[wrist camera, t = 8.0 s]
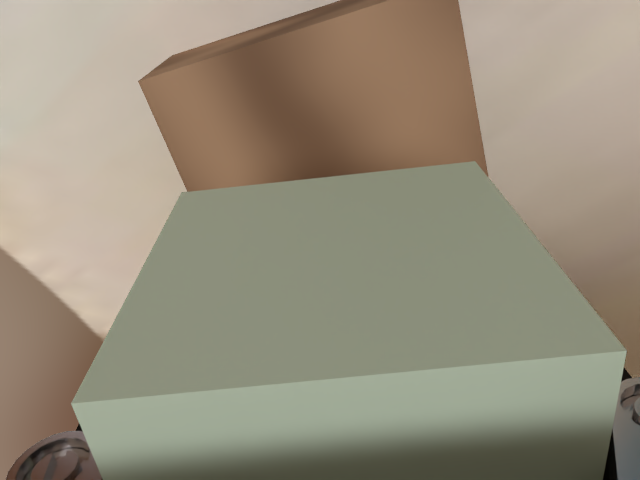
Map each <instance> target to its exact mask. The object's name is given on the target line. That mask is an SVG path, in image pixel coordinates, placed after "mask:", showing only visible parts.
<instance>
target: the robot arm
mask: <svg viewBox="0 0 640 480" xmlns="http://www.w3.org/2000/svg"><path fill="white" fill-rule="evenodd" d="M6 480H103V479H102V477H101V474H100V472H99V469H98V467H97V465H96V462H95V460H94V457H93V455H92V453H91V450H90V448H89V445H88V443H87V441H86V438H85V436H84V433H83V431H82V429H81V426H80V424H79V425H78V427H77V429H76V431H66V432H62V433H58V434H54V435H52V436H50V437H48V438H45V439H43V440H41V441H39V442H38V443H36V444H35V445H33V446H32V447H30V448H29V449H27V450H26V451H25V452H24V453H23V454H22V455H21V456H20V457H19V458H18V459H17V460H16V461H15V463H14V464H13V465H12V467H11V468H10V470H9V471H8V474H7V477H6ZM603 480H640V377H636V378H632V377H631V376H630V375H629V373H628V372H627V371H626V369H625V368H624V369H623V374H622V380H621V385H620V390H619V396H618V401H617V406H616V412H615V417H614V422H613V428H612V433H611V438H610V444H609V449H608V454H607V460H606V465H605V470H604V476H603Z"/></svg>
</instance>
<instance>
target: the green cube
mask: <svg viewBox="0 0 640 480" xmlns="http://www.w3.org/2000/svg"><path fill="white" fill-rule="evenodd" d="M626 353H627V350H626V349H625V348H624V346H623V345H622V344H621V343H620V341H619V340H618V339H617V338H616V336H615V335H614V334H613V333H612V331H611V330H610V329H609V328H608V326H607V325H606V324H605V323H604V321H603V320H602V319H601V318H600V316H599V315H598V314H597V313H596V311H595V310H594V309H593V308H592V306H591V305H590V304H589V303H588V301H587V300H586V299H585V298H584V296H583V295H582V294H581V293H580V291H579V290H578V289H577V288H576V286H575V285H574V284H573V283H572V281H571V280H570V279H569V278H568V276H567V275H566V274H565V273H564V271H563V270H562V269H561V268H560V266H559V265H558V264H557V263H556V261H555V260H554V259H553V258H552V256H551V255H550V254H549V253H548V251H547V250H546V249H545V248H544V246H543V245H542V244H541V243H540V241H539V240H538V239H537V238H536V236H535V235H534V234H533V233H532V231H531V230H530V229H529V228H528V226H527V225H526V224H525V223H524V221H523V220H522V219H521V218H520V216H519V215H518V214H517V213H516V211H515V210H514V209H513V208H512V206H511V205H510V204H509V203H508V201H507V200H506V199H505V198H504V197H503V195H502V194H501V193H500V192H499V190H498V189H497V188H496V187H495V185H494V184H493V183H492V182H491V180H490V179H489V178H488V177H487V175H486V174H485V173H484V172H483V170H482V169H481V168H480V167H479V165H478V164H477V163H476V162H475V161H472V162H463V163H454V164H444V165H435V166H426V167H416V168H407V169H397V170H388V171H379V172H369V173H360V174H351V175H341V176H332V177H322V178H313V179H304V180H294V181H285V182H276V183H266V184H257V185H247V186H238V187H229V188H219V189H210V190H201V191H191V192H182V193H181V195H180V197H179V198H178V200H177V202H176V204H175V206H174V208H173V210H172V212H171V214H170V216H169V218H168V220H167V221H166V223H165V225H164V227H163V229H162V231H161V233H160V235H159V237H158V239H157V241H156V242H155V244H154V246H153V248H152V250H151V252H150V254H149V256H148V258H147V260H146V262H145V263H144V265H143V267H142V269H141V271H140V273H139V275H138V277H137V279H136V281H135V283H134V284H133V286H132V288H131V290H130V292H129V294H128V296H127V298H126V300H125V302H124V304H123V306H122V307H121V309H120V311H119V313H118V315H117V317H116V319H115V321H114V323H113V325H112V327H111V328H110V330H109V332H108V334H107V336H106V338H105V340H104V342H103V344H102V346H101V348H100V349H99V351H98V353H97V355H96V357H95V359H94V361H93V363H92V365H91V367H90V369H89V371H88V373H87V374H86V376H85V378H84V380H83V382H82V384H81V386H80V388H79V390H78V392H77V394H76V395H75V397H74V399H73V401H72V404H71V405H72V407H73V409H74V412H75V414H76V417H77V419H78V421H79V424H80V426H81V429H82V431H83V433H84V436H85V438H86V441H87V443H88V445H89V448H90V450H91V453H92V455H93V457H94V460H95V462H96V465H97V467H98V469H99V472H100V474H101V477H102V479H103V480H603V476H604V470H605V465H606V460H607V454H608V449H609V444H610V438H611V433H612V428H613V422H614V417H615V412H616V406H617V401H618V396H619V390H620V385H621V380H622V374H623V369H624V364H625V358H626Z"/></svg>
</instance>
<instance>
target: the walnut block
mask: <svg viewBox="0 0 640 480" xmlns="http://www.w3.org/2000/svg"><path fill="white" fill-rule="evenodd" d="M138 82H139V84H140V86H141V88H142V91H143V93H144V95H145V97H146V100H147V102H148V104H149V106H150V109H151V111H152V113H153V115H154V118H155V120H156V122H157V124H158V127H159V129H160V131H161V133H162V136H163V138H164V140H165V142H166V144H167V147H168V149H169V151H170V153H171V156H172V158H173V160H174V162H175V165H176V167H177V169H178V171H179V174H180V176H181V178H182V180H183V183H184V185H185V187H186V189H187V192H191V191H201V190H210V189H219V188H229V187H238V186H247V185H257V184H266V183H276V182H285V181H294V180H304V179H313V178H322V177H332V176H341V175H351V174H360V173H369V172H379V171H388V170H397V169H407V168H416V167H426V166H435V165H444V164H454V163H463V162H472V161H475V162H476V163H477V164H478V165H479V167H480V168H481V169H482V170H483V172H484V173H485V174H486V175H487V177H488V173H487V167H486V161H485V155H484V149H483V143H482V137H481V132H480V126H479V120H478V114H477V108H476V102H475V97H474V91H473V85H472V79H471V73H470V67H469V61H468V56H467V50H466V44H465V38H464V32H463V26H462V21H461V15H460V9H459V3H458V0H340V1H337V2H334V3H331V4H328V5H325V6H322V7H319V8H316V9H313V10H310V11H307V12H304V13H301V14H298V15H295V16H291V17H288V18H285V19H282V20H279V21H276V22H273V23H270V24H267V25H264V26H261V27H258V28H255V29H252V30H249V31H246V32H243V33H239V34H236V35H233V36H230V37H227V38H224V39H221V40H218V41H215V42H212V43H209V44H206V45H203V46H200V47H197V48H194V49H190V50H187V51H184V52H181V53H178V54H175V55H172V56H171V57H170V58H168V59H167V60H166V61H164V62H163V63H162V64H160V65H159V66H158V67H156V68H155V69H154V70H152V71H151V72H150V73H149V74H147V75H146V76H145V77H143V78H142V79H141V80H139V81H138Z"/></svg>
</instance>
